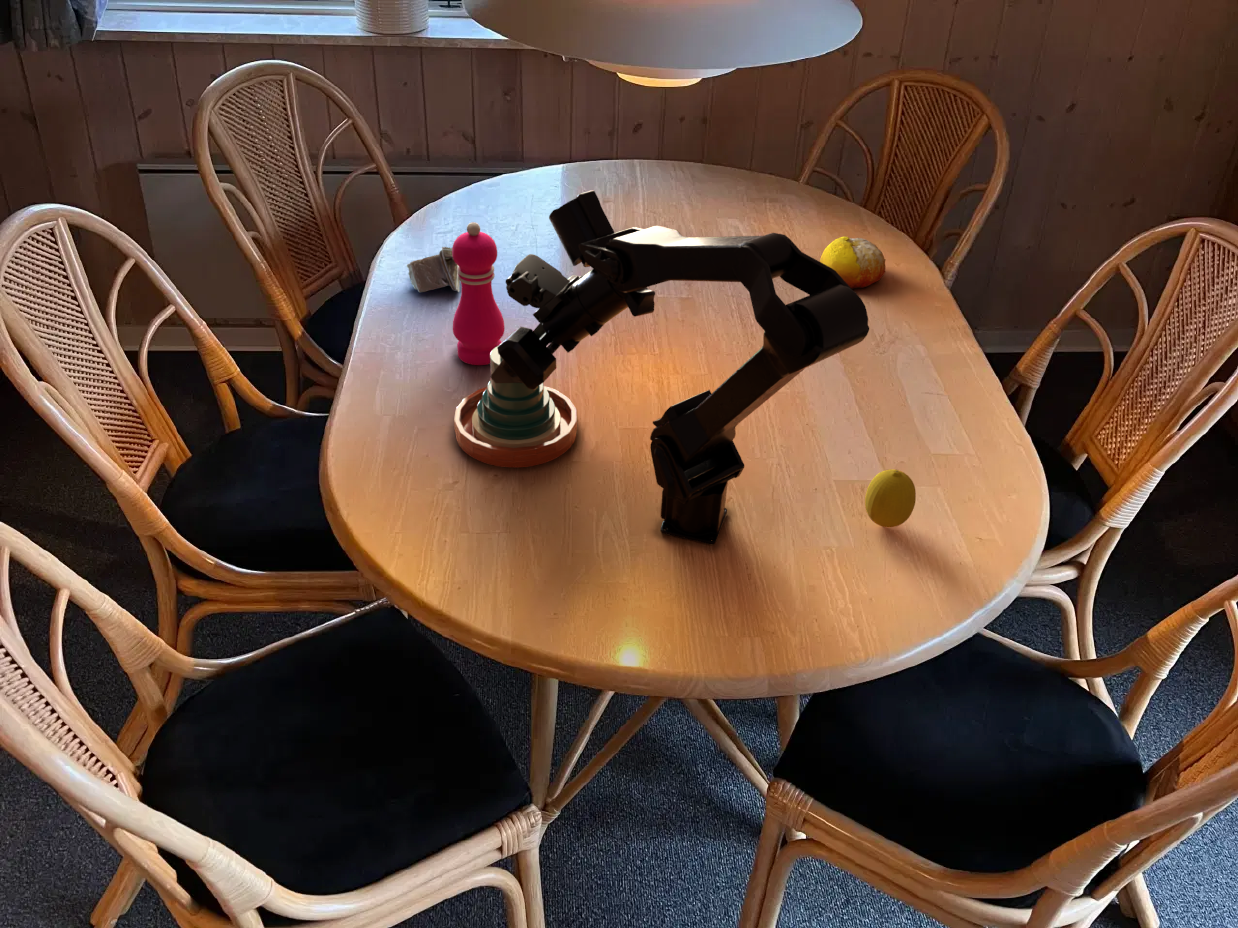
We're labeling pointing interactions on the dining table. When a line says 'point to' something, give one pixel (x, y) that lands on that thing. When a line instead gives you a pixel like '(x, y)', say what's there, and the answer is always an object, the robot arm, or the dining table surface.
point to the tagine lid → (515, 413)
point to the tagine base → (521, 454)
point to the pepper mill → (476, 297)
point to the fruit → (855, 261)
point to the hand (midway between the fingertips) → (510, 361)
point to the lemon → (890, 498)
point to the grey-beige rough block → (434, 272)
